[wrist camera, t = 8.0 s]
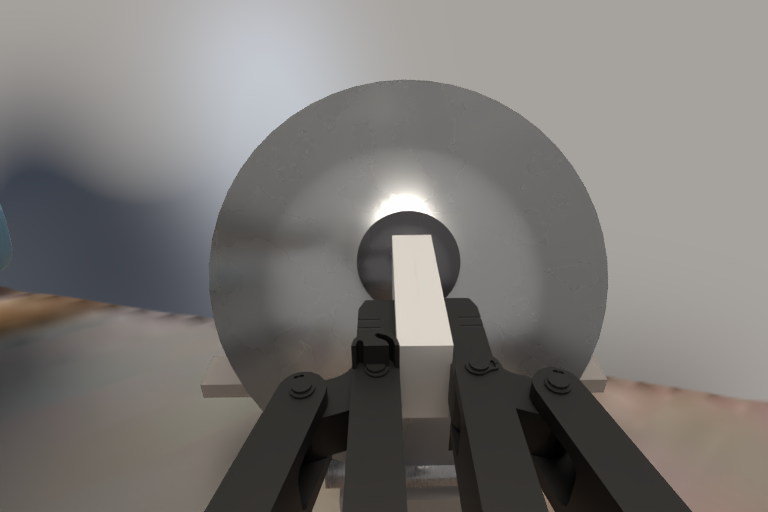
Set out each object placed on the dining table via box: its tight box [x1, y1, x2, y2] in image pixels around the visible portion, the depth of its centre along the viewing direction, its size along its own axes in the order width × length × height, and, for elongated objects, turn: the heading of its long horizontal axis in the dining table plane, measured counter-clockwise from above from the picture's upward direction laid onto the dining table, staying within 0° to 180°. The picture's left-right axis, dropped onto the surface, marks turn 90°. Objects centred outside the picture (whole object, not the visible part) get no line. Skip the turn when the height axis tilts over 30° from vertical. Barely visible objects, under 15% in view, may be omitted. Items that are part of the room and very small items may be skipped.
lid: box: [209, 80, 608, 489], centre depth 21 cm, size 18×17×2 cm
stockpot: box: [201, 354, 607, 512], centre depth 29 cm, size 17×23×11 cm
